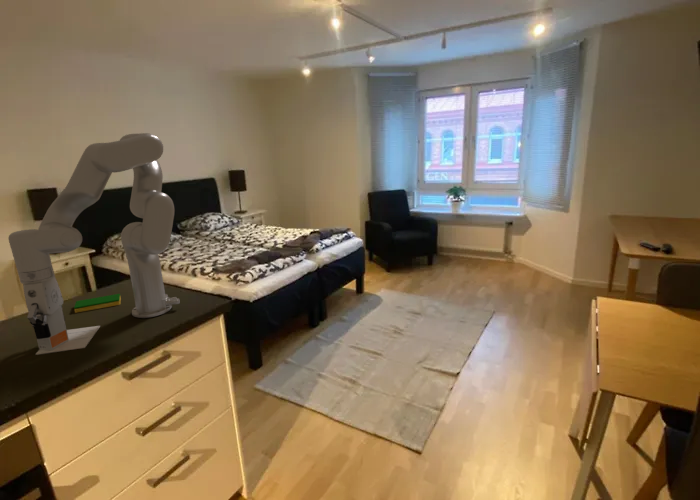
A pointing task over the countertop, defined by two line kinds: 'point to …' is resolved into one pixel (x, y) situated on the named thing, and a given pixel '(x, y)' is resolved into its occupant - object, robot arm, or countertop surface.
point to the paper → (74, 340)
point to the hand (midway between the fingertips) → (51, 329)
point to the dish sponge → (97, 303)
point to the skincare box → (54, 330)
